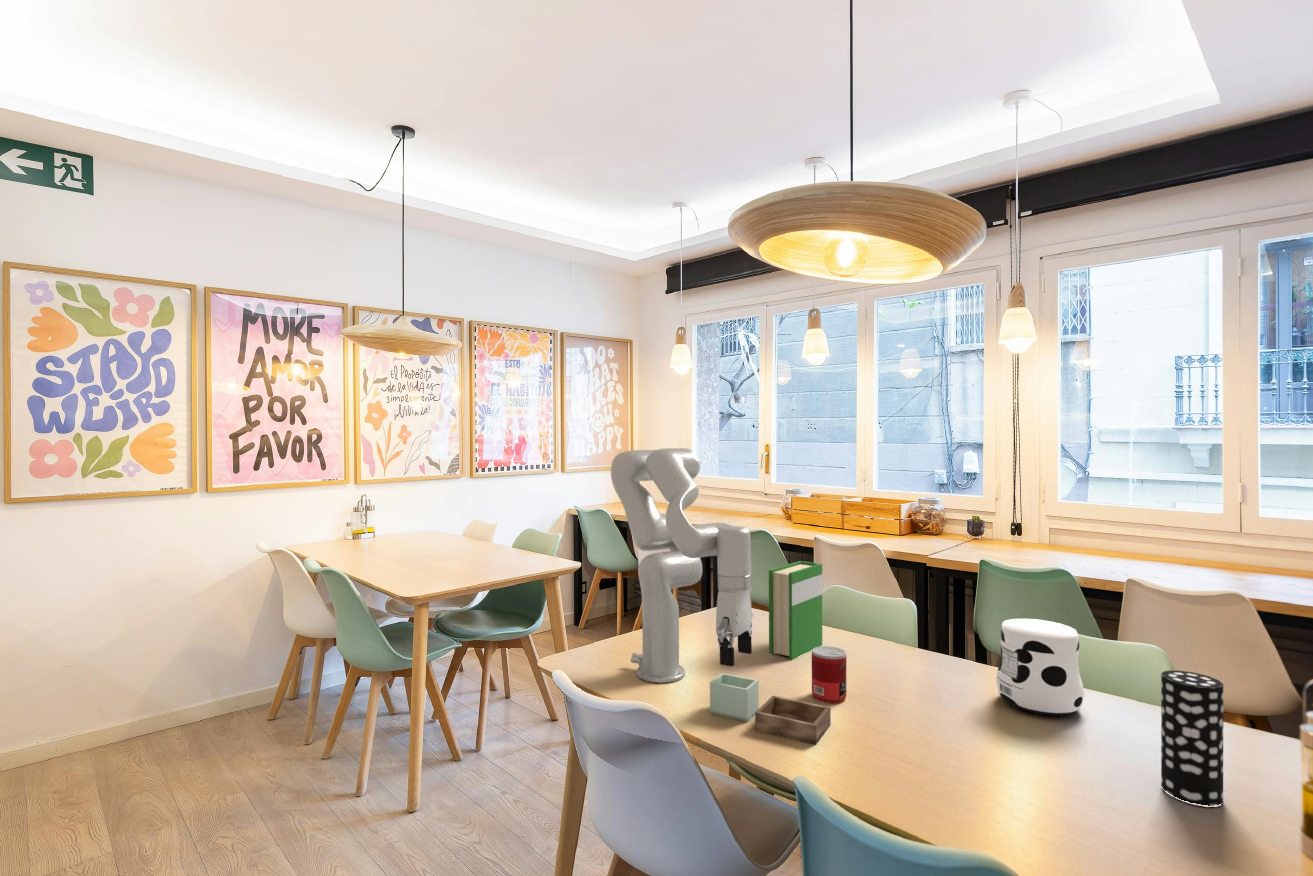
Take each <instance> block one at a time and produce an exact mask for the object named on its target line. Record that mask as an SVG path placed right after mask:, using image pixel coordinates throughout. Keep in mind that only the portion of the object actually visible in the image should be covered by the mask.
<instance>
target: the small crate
mask: <svg viewBox="0 0 1313 876" xmlns="http://www.w3.org/2000/svg"><path fill="white" fill-rule="evenodd" d="M759 688H760V687H759V680H758V679H754V678H750V677H743V676H738V675H733V674H729V673H724V672H722V673H720V674H719V675H717V676H716V677H715V678H713V679H712V680H711V681H709V714H710V713H711V715H716V716H719V715H721V716H720V717H723V716H725V717H724V718H727V719H733V720H735V721H736V720H737V721H741V722H745V723H748V722H750V720H751V719H752V718H753V717H755V712H756V711H757V710H758V709H759V708H760V705H759V703H760V702H759V701H760V700H759V698H760V697H759V696H760V694H759V692H760V691H759Z"/></svg>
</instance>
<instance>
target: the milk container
mask: <svg viewBox="0 0 1313 876" xmlns="http://www.w3.org/2000/svg"><path fill="white" fill-rule="evenodd" d="M1000 637H1001V638H1000V662H999V665H998V668H997V671H996V677H995V678H996V679H995V680H996V686H997V692H998V694H999V696H1000V697H1001V698H1002V699H1003V700H1004V701H1005V702H1006V703H1007V704H1009V705H1011V706H1013V707H1015V708H1018V709H1020V710H1023V711H1026V712H1030V713H1035V714H1039V715H1045V716H1067V715H1072V714H1074V713H1077V712H1078V711H1080V709H1081V708H1082V706H1083V702H1084V697H1085V690H1084V685H1083V681H1082V677H1081V675H1080V668H1079V667H1080V665H1079V664H1080V640H1079V639H1080V638H1079V634H1078V632H1077V629H1075V628H1073V627H1072V626H1069V625H1066V624H1063V623H1061V622H1060V623H1058V622H1055V621H1049V620H1043V619H1037V618H1034V619H1033V618H1011V619H1006V620H1004V621H1002V623H1001V628H1000Z"/></svg>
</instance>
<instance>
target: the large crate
mask: <svg viewBox="0 0 1313 876" xmlns="http://www.w3.org/2000/svg"><path fill="white" fill-rule="evenodd" d="M754 723H755V724H754V728H755V729H754V730H755V731H756V732H761V733H763V734H764V733H765V734H768V735H772V736H776V737H777V736H778V737H782V738H786V739H790V740H792V741H798V742H802V743H807V744H810V745H816V746H817V744H818V743H819V741H821V739H822V737H823V736H824V735H825V733H826V732H827V730H829V728H830V727H831V723H832V722H831V706H825V705H821V704H816V703H811V702H808V701H807V702H805V701H801V700H797V699H792V698H787V697H781V696H777V695H772V696H770V697H769V698H768V700H767V701H765V702H764V703H763V704H762V706H759V709H758V710H757V711H756V712H755V715H754Z"/></svg>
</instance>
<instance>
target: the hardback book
mask: <svg viewBox="0 0 1313 876" xmlns="http://www.w3.org/2000/svg"><path fill="white" fill-rule="evenodd" d="M820 646H823V563H819V562H818V563H817V562H811V561H810V562H809V561H804V560H803V561H802V560H799V561H795V562H792V563H789V564H788V563H787V564H785V565H781V566H778V567H775V568H771V569H768V655H769V654H773V655H775V654H774V653H776V654H778V655H781V656H782V655H783V656H787V657H788V659H790V661H794V660H795V658H796V659H797V657H798V656H800V655H802V654H804V653H806V654H807V652H808V653H809V651H810V652H812V651H811V650H812V649H813V648H815V647H820ZM804 655H805V654H804ZM802 656H803V655H802ZM800 657H801V656H800ZM798 658H799V657H798ZM793 659H794V660H793Z"/></svg>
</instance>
